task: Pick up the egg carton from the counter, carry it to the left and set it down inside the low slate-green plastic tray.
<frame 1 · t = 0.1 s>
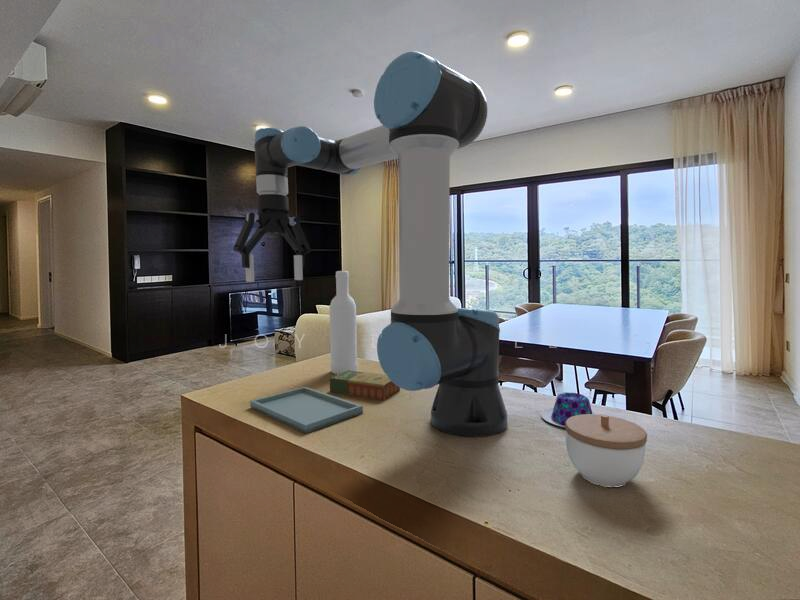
hand: (275, 281, 105), 28 cm above the table, tool pointing down, fingers open, 13 cm apart
tray: (305, 410, 91), on the table
pudding: (572, 422, 84), on the table
carton: (364, 393, 105), on the table
lidded jar: (602, 478, 62), on the table
bottle: (344, 372, 124), on the table
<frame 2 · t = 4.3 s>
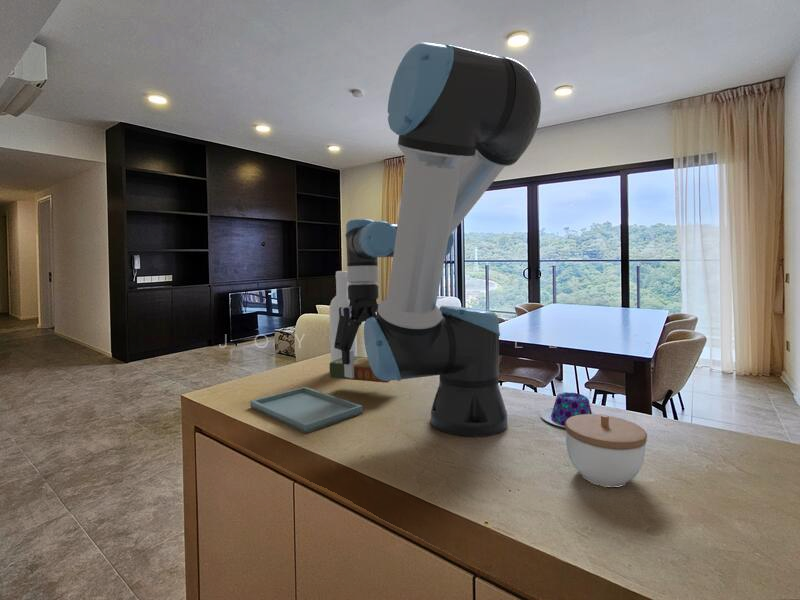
hand: (365, 373, 104), 5 cm above the table, tool pointing down, fingers closed on carton, 10 cm apart
carton: (365, 377, 104), point 4 cm above the table, touching gripper
everything else where it was.
when the fingers open (3 cm above the table, at t = 8.4 s): carton drops 1 cm, resting on tray.
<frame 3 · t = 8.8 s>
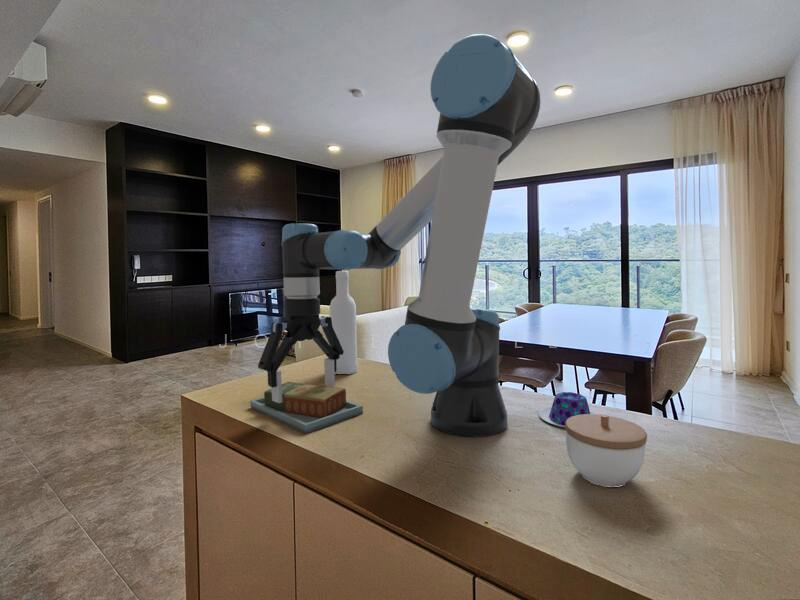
hand: (304, 393, 91), 4 cm above the table, tool pointing down, fingers open, 13 cm apart
carton: (305, 408, 91), resting on tray
everything else where it was.
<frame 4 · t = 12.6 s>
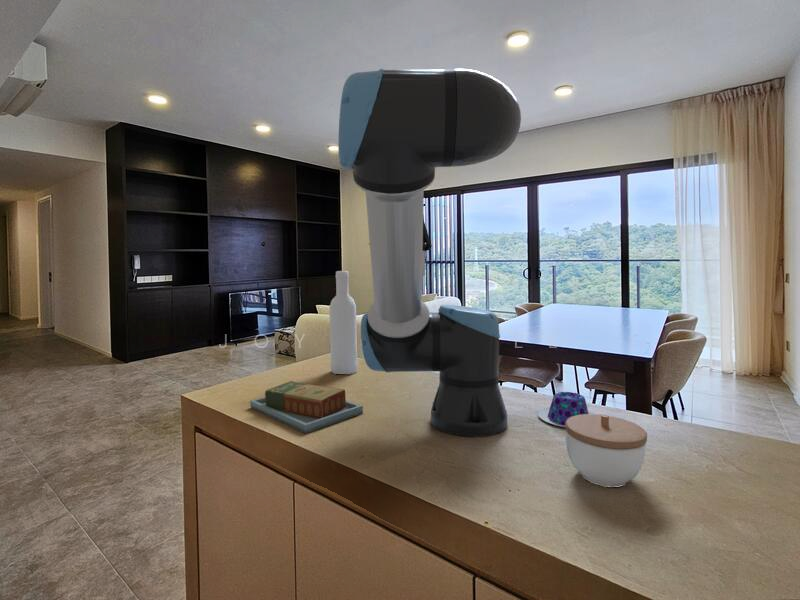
hand: (402, 276, 104), 29 cm above the table, tool pointing down, fingers open, 13 cm apart
nothing on the table moved.
at the end: carton 0.0 cm off-centre on the tray, point 0.4 cm above the tray's base; carton tilted 2°; the gripper is holding nothing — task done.
